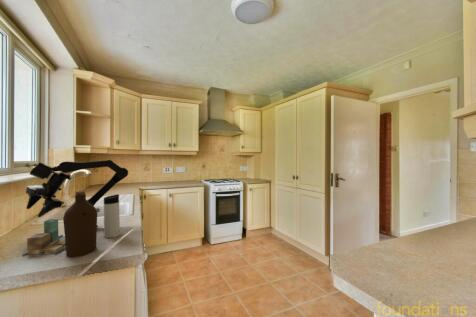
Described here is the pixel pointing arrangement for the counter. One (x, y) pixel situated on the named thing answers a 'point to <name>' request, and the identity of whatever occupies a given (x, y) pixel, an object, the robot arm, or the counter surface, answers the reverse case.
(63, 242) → the tan square block
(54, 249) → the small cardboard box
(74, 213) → the olive oil
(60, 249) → the lane tray
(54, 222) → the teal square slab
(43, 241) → the cube
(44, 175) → the robot arm
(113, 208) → the travel mug
